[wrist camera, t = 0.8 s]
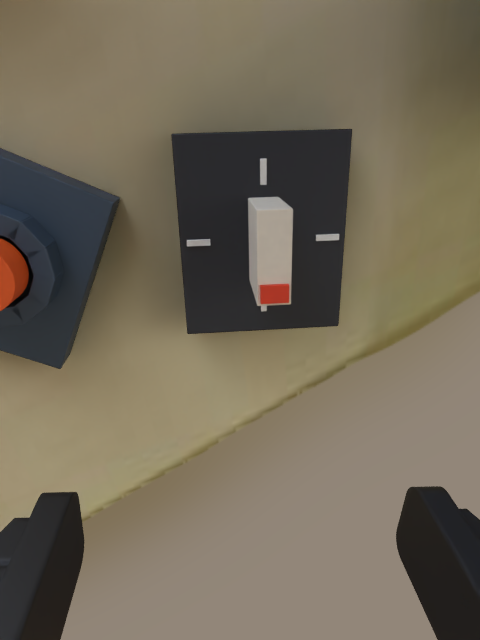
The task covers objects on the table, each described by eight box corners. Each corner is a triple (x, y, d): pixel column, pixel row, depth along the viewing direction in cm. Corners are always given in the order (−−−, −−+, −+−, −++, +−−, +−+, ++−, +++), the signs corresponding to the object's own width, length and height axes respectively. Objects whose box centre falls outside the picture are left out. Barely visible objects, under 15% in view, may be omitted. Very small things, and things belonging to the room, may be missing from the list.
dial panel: (174, 133, 26) (171, 133, 23) (337, 129, 27) (353, 128, 24) (189, 316, 31) (187, 335, 28) (326, 309, 32) (339, 327, 29)
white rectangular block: (247, 197, 25) (256, 210, 21) (278, 196, 25) (294, 209, 21) (249, 280, 27) (257, 308, 23) (278, 278, 27) (291, 306, 23)
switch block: (-47, 128, 25) (-90, 127, 22) (120, 197, 27) (107, 207, 24) (-79, 306, 29) (-120, 331, 26) (69, 354, 31) (51, 383, 28)
